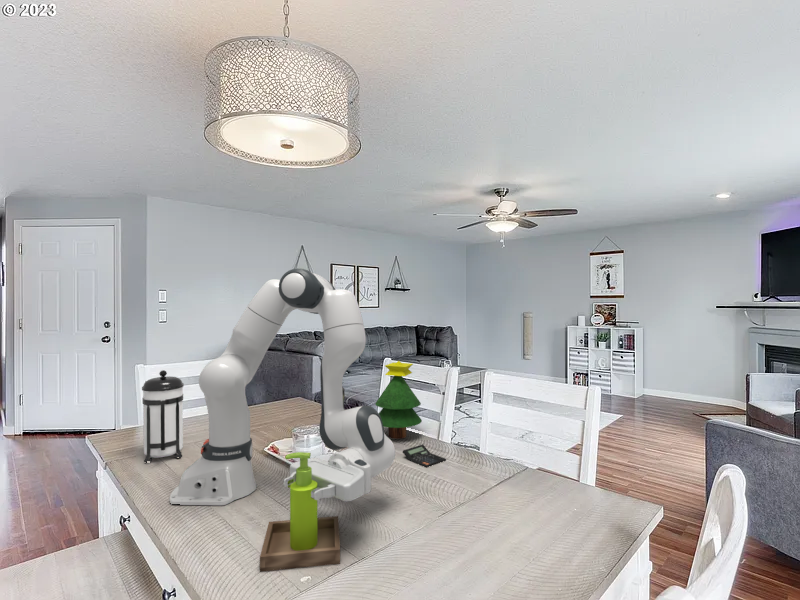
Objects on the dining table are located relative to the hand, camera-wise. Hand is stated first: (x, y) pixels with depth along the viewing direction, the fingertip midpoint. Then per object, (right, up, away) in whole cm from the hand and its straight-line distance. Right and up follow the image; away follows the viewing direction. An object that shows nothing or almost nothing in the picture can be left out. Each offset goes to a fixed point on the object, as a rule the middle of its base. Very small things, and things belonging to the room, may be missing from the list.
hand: (298, 489), depth 95 cm
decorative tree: (+21, -13, +78) cm, 82 cm away
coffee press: (-59, -13, +56) cm, 82 cm away
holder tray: (+1, -13, +1) cm, 13 cm away
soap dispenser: (0, -13, +1) cm, 13 cm away
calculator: (+30, -13, +53) cm, 63 cm away
